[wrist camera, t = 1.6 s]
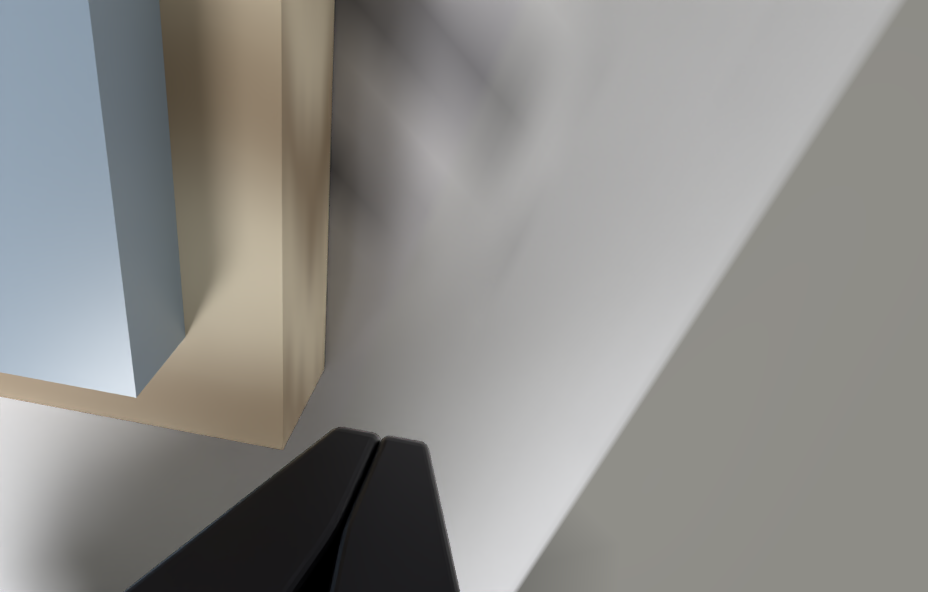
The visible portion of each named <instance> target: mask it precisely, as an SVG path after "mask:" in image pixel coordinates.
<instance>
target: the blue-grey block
mask: <svg viewBox="0 0 928 592" xmlns="http://www.w3.org/2000/svg"><path fill="white" fill-rule="evenodd" d="M184 338H185V325H184V312H183V299H182V286H181V273H180V261H179V248H178V235H177V222H176V209H175V197H174V184H173V171H172V158H171V145H170V133H169V120H168V107H167V94H166V81H165V69H164V56H163V43H162V30H161V17H160V5H159V0H0V372H2V373H7V374H12V375H18V376H23V377H28V378H34V379H39V380H44V381H50V382H55V383H60V384H66V385H71V386H76V387H82V388H87V389H92V390H98V391H103V392H108V393H114V394H119V395H125V396H130V397H135V398H137V396H138V395H139V394H140V393H141V391H142V390H143V389H144V388H145V386H146V385H147V384H148V383H149V381H150V380H151V379H152V378H153V377H154V375H155V374H156V373H157V372H158V370H159V369H160V368H161V367H162V365H163V364H164V363H165V362H166V360H167V359H168V358H169V357H170V356H171V354H172V353H173V352H174V351H175V349H176V348H177V347H178V346H179V344H180V343H181V342H182V341H183V339H184Z"/></svg>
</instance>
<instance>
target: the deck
mask: <svg viewBox="0 0 928 592" xmlns="http://www.w3.org/2000/svg"><path fill="white" fill-rule="evenodd" d="M159 5H160V17H161V30H162V43H163V56H164V69H165V81H166V94H167V107H168V120H169V133H170V145H171V158H172V171H173V184H174V197H175V209H176V222H177V235H178V248H179V261H180V273H181V286H182V299H183V312H184V325H185V338H184V339H183V341H182V342H181V343H180V344H179V346H178V347H177V348H176V349H175V351H174V352H173V353H172V354H171V356H170V357H169V358H168V359H167V360H166V362H165V363H164V364H163V365H162V367H161V368H160V369H159V370H158V372H157V373H156V374H155V375H154V377H153V378H152V379H151V380H150V381H149V383H148V384H147V385H146V386H145V388H144V389H143V390H142V391H141V393H140V394H139V395H138V396H137V398H135V397H130V396H125V395H119V394H114V393H108V392H103V391H98V390H92V389H87V388H82V387H76V386H71V385H66V384H60V383H55V382H50V381H44V380H39V379H34V378H28V377H23V376H18V375H12V374H7V373H2V372H0V397H5V398H10V399H16V400H21V401H26V402H32V403H37V404H42V405H47V406H53V407H58V408H63V409H68V410H74V411H79V412H84V413H90V414H95V415H100V416H105V417H111V418H116V419H121V420H127V421H132V422H137V423H142V424H148V425H153V426H158V427H164V428H169V429H174V430H179V431H185V432H190V433H195V434H201V435H206V436H211V437H216V438H222V439H227V440H232V441H238V442H243V443H248V444H253V445H259V446H264V447H269V448H274V449H280V450H283V449H284V447H285V445H286V444H287V442H288V440H289V438H290V436H291V434H292V432H293V430H294V428H295V426H296V424H297V422H298V420H299V418H300V416H301V414H302V412H303V410H304V408H305V406H306V404H307V402H308V400H309V398H310V396H311V394H312V392H313V391H314V389H315V387H316V385H317V383H318V381H319V379H320V377H321V375H322V373H323V371H324V364H325V329H326V293H327V258H328V222H329V187H330V151H331V116H332V80H333V45H334V10H335V0H159Z"/></svg>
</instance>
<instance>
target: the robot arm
mask: <svg viewBox="0 0 928 592" xmlns="http://www.w3.org/2000/svg"><path fill="white" fill-rule="evenodd" d="M124 592H460V589H459V585H458V580H457V576H456V571H455V566H454V562H453V557H452V553H451V548H450V544H449V539H448V534H447V530H446V525H445V521H444V516H443V512H442V507H441V502H440V498H439V493H438V489H437V484H436V480H435V475H434V470H433V466H432V461H431V457H430V452H429V449H428V447H427V445H426V444H425V443H424V442H421V441H417V440H411V439H406V438H400V437H395V436H386V437H384V438H383V439H382V440H381V439H380V437H379V436H378V435H377V434H376V433H374V432H368V431H363V430H357V429H352V428H347V427H338V428H335V429H333V430H331V431H330V432H329V433H327V434H326V435H325V436H323V437H322V438H321V439H320V440H318V441H317V442H316V443H314V444H313V445H312V446H311V447H309V448H308V449H307V450H305V451H304V452H303V453H302V454H300V455H299V456H298V457H296V458H295V459H294V460H293V461H291V462H290V463H289V464H287V465H286V466H285V467H284V468H282V469H281V470H280V471H278V472H277V473H276V474H274V475H273V476H272V477H271V478H269V479H268V480H267V481H265V482H264V483H263V484H262V485H260V486H259V487H258V488H256V489H255V490H254V491H253V492H251V493H250V494H249V495H247V496H246V497H245V498H244V499H242V500H241V501H240V502H238V503H237V504H236V505H235V506H233V507H232V508H231V509H229V510H228V511H227V512H226V513H224V514H223V515H222V516H220V517H219V518H218V519H217V520H215V521H214V522H213V523H211V524H210V525H209V526H207V527H206V528H205V529H204V530H202V531H201V532H200V533H198V534H197V535H196V536H195V537H193V538H192V539H191V540H189V541H188V542H187V543H186V544H184V545H183V546H182V547H180V548H179V549H178V550H177V551H175V552H174V553H173V554H171V555H170V556H169V557H168V558H166V559H165V560H164V561H162V562H161V563H160V564H159V565H157V566H156V567H155V568H153V569H152V570H151V571H150V572H148V573H147V574H146V575H144V576H143V577H142V578H140V579H139V580H138V581H137V582H135V583H134V584H133V585H131V586H130V587H129V588H128V589H126V590H125V591H124Z"/></svg>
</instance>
